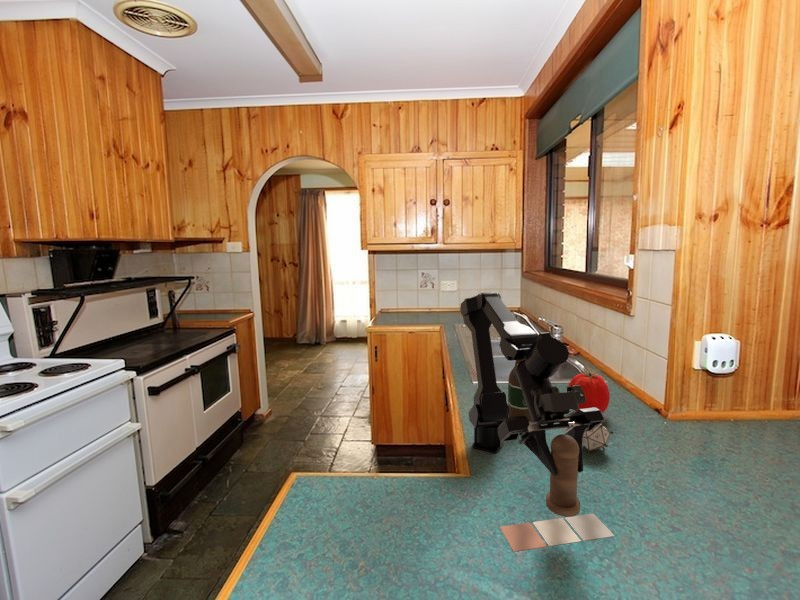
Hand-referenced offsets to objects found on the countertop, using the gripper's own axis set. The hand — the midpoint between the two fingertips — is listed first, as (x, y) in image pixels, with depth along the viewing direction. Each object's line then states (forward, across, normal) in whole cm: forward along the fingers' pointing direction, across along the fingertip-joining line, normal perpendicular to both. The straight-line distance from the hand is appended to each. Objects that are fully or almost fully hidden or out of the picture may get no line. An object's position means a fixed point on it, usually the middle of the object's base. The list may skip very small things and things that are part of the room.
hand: (568, 473), depth 69 cm
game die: (-10, +25, +29) cm, 39 cm away
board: (+8, -1, +11) cm, 14 cm away
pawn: (+4, 0, +6) cm, 7 cm away
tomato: (-22, +36, +42) cm, 60 cm away
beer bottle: (-24, +16, +44) cm, 52 cm away
